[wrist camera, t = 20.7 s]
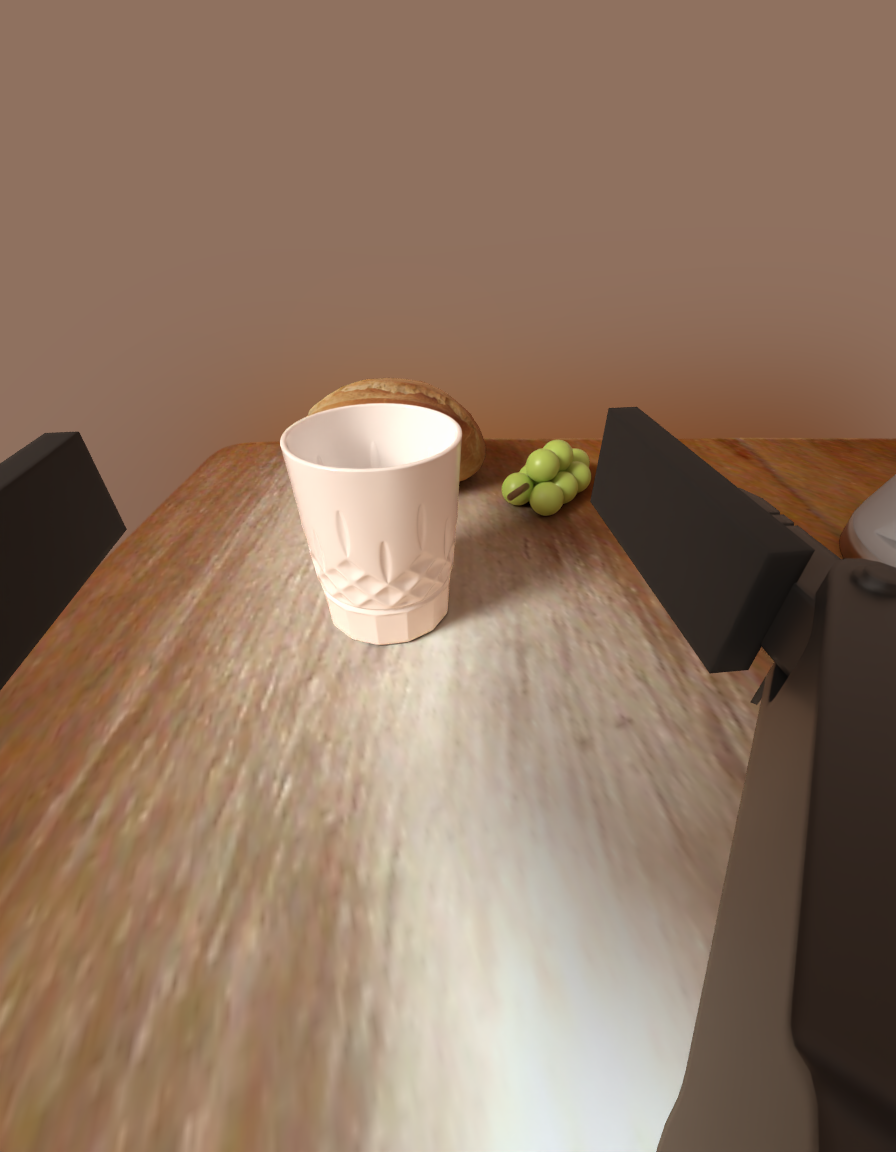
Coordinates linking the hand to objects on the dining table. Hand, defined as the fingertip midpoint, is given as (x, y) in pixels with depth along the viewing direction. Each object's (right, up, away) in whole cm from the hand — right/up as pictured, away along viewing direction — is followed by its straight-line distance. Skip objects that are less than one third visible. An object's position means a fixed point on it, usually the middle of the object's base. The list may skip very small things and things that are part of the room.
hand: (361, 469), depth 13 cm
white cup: (-1, -5, +15) cm, 15 cm away
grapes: (+10, +4, +25) cm, 27 cm away
